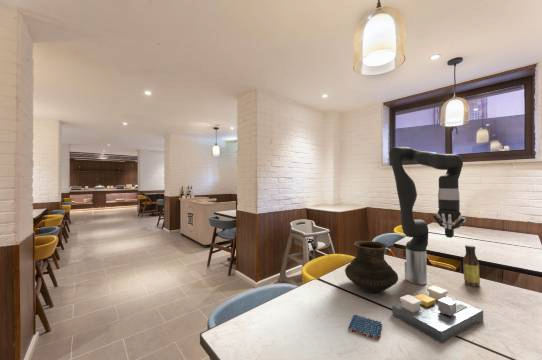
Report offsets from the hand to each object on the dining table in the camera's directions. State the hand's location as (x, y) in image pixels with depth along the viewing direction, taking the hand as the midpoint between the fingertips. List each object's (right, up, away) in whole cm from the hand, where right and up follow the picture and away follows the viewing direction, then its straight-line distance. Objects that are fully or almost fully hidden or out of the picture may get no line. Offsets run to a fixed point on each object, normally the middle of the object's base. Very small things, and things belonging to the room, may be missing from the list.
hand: (449, 237), depth 101 cm
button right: (-8, -27, -4) cm, 28 cm away
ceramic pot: (-29, -30, +13) cm, 44 cm away
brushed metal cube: (-13, -24, -15) cm, 32 cm away
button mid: (-16, -29, -8) cm, 34 cm away
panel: (-14, -29, -12) cm, 34 cm away
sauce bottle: (+25, -29, +17) cm, 42 cm away
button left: (-24, -27, -11) cm, 38 cm away
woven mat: (-45, -30, -17) cm, 57 cm away
